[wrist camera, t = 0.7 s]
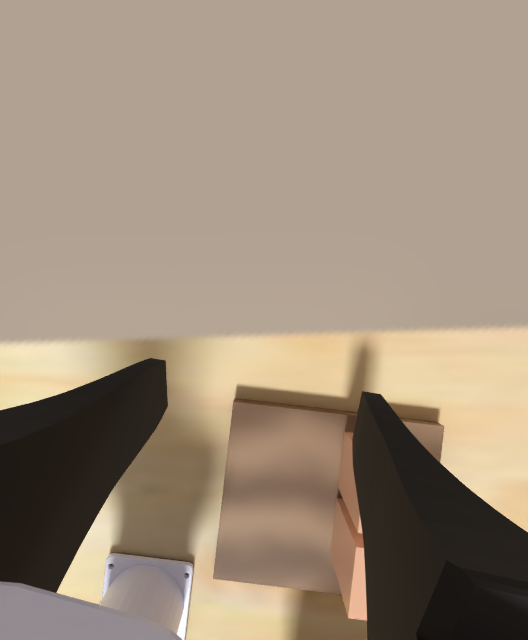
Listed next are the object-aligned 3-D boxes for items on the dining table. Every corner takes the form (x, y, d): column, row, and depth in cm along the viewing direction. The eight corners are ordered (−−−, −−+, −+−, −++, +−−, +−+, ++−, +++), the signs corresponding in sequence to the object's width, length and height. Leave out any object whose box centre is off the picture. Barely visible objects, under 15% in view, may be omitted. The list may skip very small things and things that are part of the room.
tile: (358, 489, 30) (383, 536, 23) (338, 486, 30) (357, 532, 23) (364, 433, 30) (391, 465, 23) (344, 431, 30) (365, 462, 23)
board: (417, 593, 31) (424, 604, 30) (215, 568, 31) (213, 578, 30) (437, 422, 31) (444, 426, 30) (234, 398, 31) (233, 401, 30)
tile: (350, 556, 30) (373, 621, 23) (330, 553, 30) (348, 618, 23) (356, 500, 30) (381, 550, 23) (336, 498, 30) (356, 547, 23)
